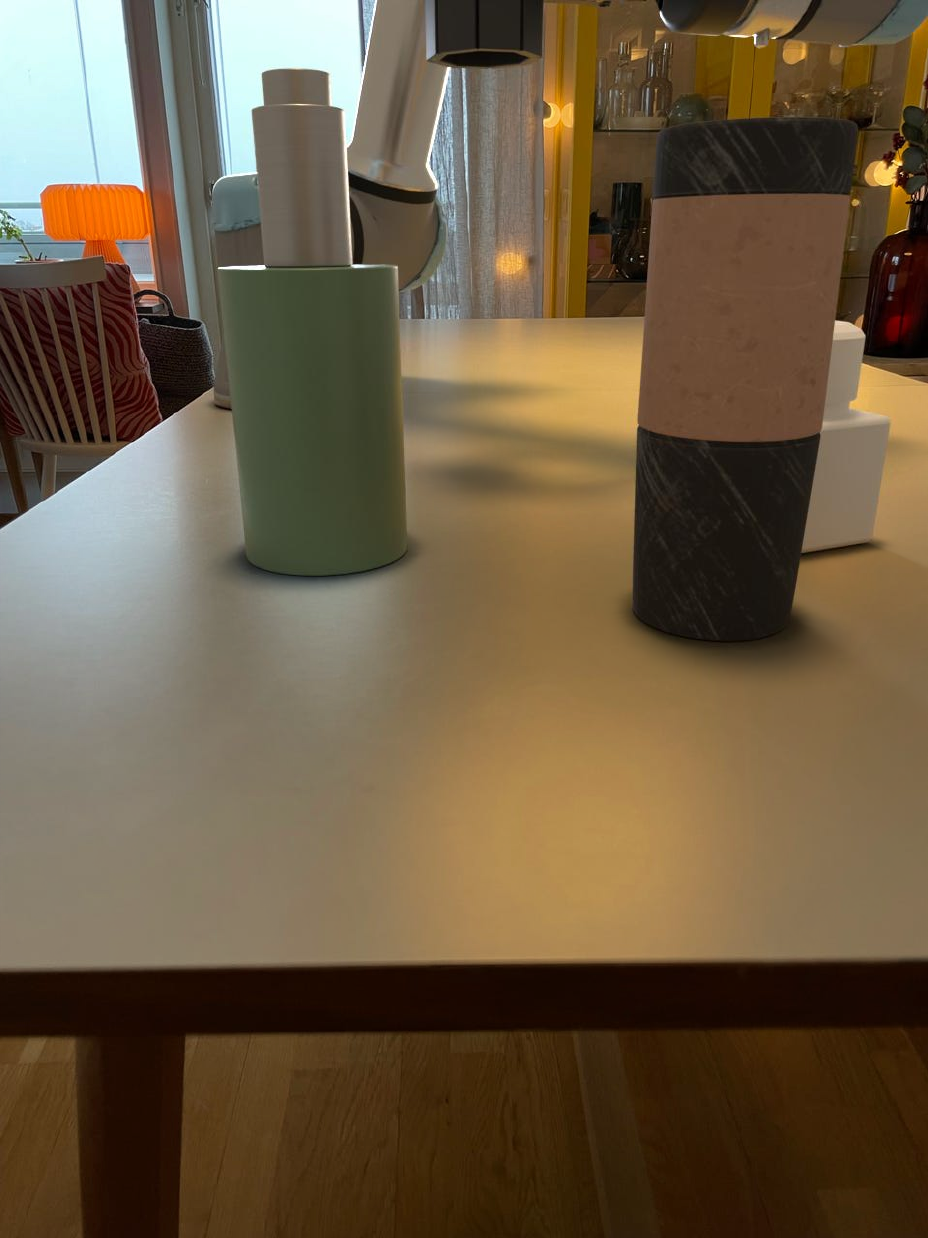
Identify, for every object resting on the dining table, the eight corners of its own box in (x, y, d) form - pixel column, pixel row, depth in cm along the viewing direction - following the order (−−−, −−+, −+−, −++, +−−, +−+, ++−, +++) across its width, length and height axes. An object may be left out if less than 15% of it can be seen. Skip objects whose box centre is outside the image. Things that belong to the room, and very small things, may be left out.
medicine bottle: (694, 526, 56) (711, 318, 52) (787, 512, 59) (812, 313, 55) (774, 560, 50) (801, 327, 46) (874, 543, 53) (910, 321, 48)
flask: (243, 534, 56) (197, 85, 47) (391, 522, 58) (374, 90, 49) (250, 583, 48) (196, 52, 39) (422, 567, 50) (408, 60, 41)
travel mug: (806, 650, 39) (881, 112, 32) (622, 637, 41) (652, 120, 33) (786, 589, 46) (843, 135, 39) (629, 579, 48) (655, 141, 40)
